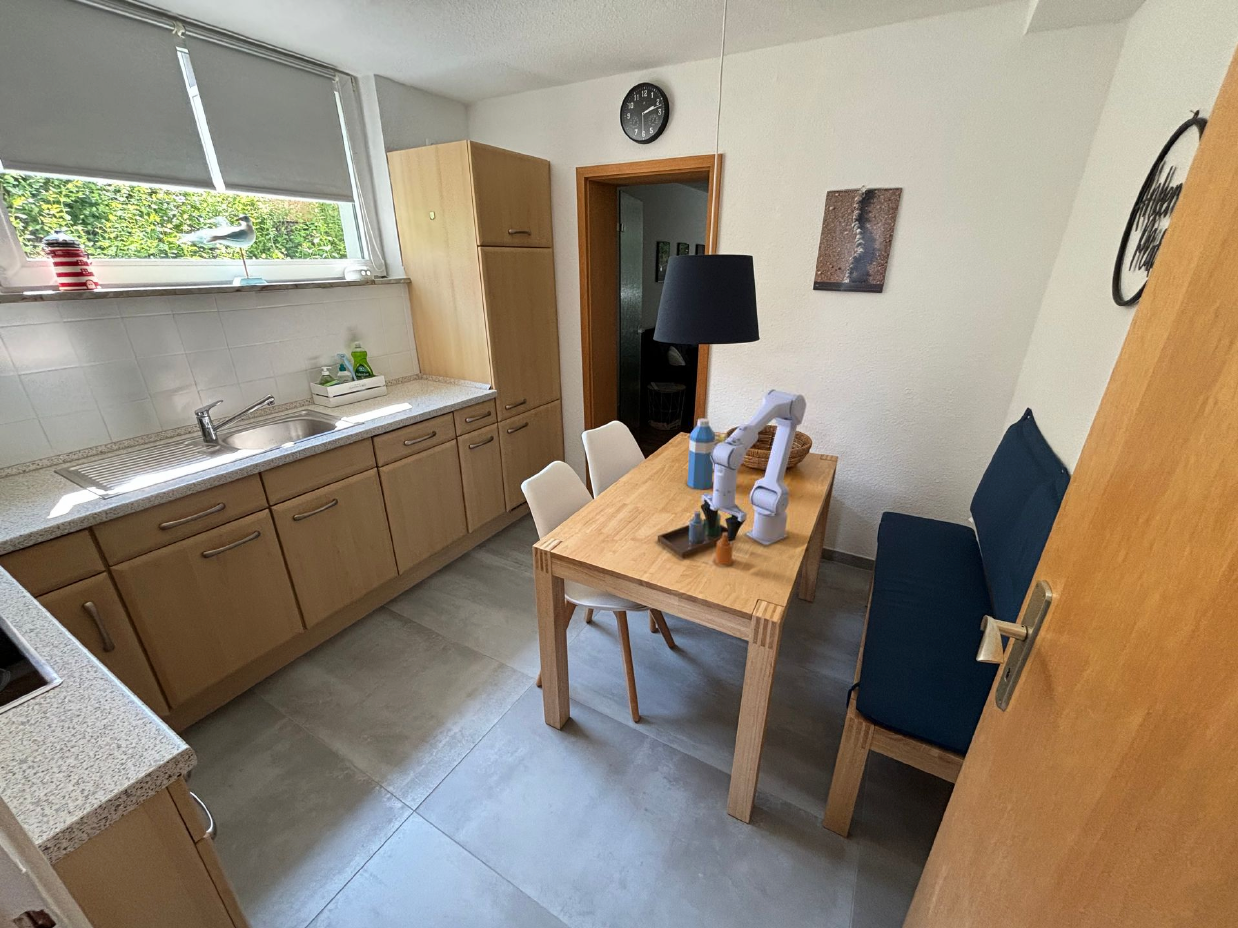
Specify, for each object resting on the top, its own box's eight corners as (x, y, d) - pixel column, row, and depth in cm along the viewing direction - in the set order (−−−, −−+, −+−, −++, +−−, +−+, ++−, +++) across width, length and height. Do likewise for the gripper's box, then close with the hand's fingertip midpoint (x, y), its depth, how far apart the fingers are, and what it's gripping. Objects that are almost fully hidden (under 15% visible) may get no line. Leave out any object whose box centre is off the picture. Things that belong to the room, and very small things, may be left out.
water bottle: (695, 477, 192) (698, 414, 183) (717, 483, 186) (721, 419, 177) (682, 485, 185) (685, 420, 176) (704, 491, 180) (708, 425, 170)
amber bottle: (723, 556, 140) (725, 528, 137) (734, 563, 137) (737, 534, 133) (711, 561, 138) (713, 532, 134) (723, 568, 134) (725, 539, 131)
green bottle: (712, 528, 154) (714, 501, 151) (722, 533, 151) (724, 507, 147) (701, 532, 152) (703, 505, 148) (711, 538, 148) (713, 511, 145)
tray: (708, 523, 157) (708, 517, 157) (733, 538, 149) (734, 532, 148) (657, 542, 147) (657, 535, 146) (682, 559, 138) (682, 552, 138)
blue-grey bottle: (696, 533, 151) (698, 507, 147) (706, 540, 147) (708, 513, 144) (685, 538, 148) (686, 511, 145) (695, 544, 145) (696, 517, 142)
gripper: (694, 482, 132) (691, 527, 137) (734, 502, 121) (729, 550, 126) (713, 476, 136) (710, 520, 141) (754, 495, 124) (749, 542, 129)
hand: (721, 534), depth 134 cm, fingers open, 7 cm apart
